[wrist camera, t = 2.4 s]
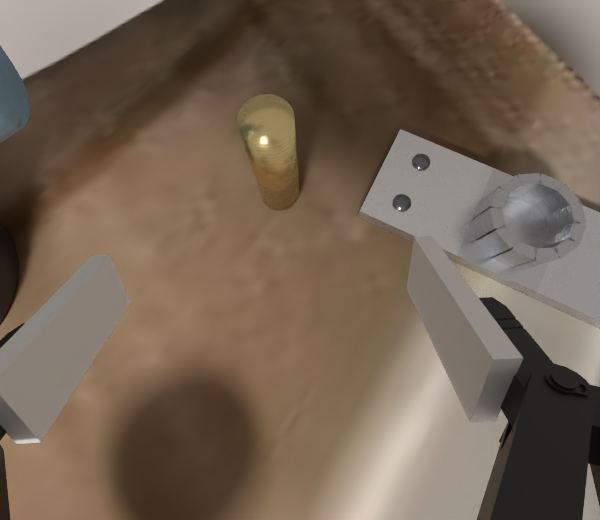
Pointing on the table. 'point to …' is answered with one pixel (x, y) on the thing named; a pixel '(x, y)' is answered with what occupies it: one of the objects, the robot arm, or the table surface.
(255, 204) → the table surface
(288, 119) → the hinge pin
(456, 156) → the hinge leaves
